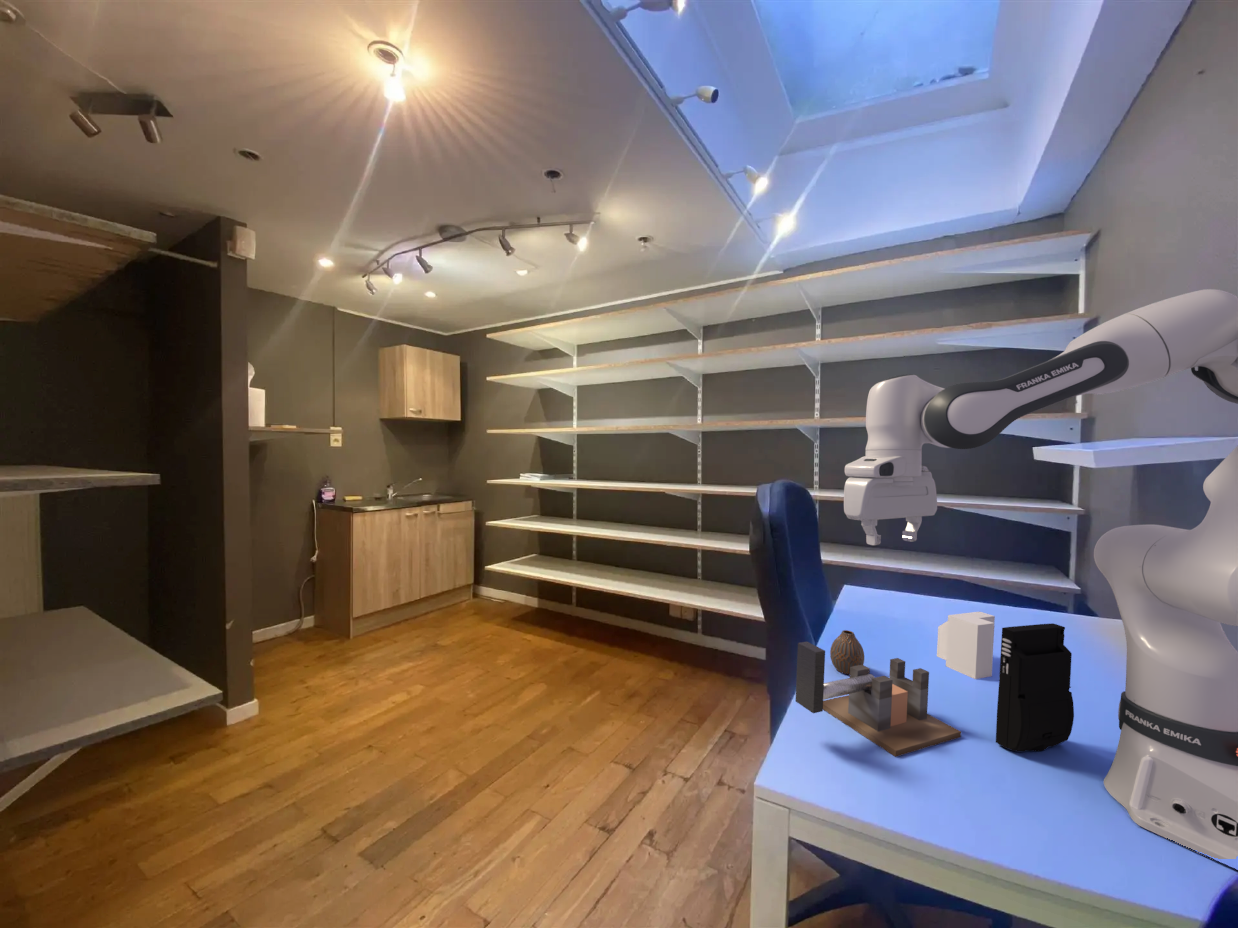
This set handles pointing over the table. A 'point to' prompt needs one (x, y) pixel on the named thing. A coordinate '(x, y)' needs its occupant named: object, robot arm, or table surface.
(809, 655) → the shaft
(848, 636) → the vase
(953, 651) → the corner bracket
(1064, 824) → the table surface
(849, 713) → the shaft stand
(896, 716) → the block
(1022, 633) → the handheld gaming console
